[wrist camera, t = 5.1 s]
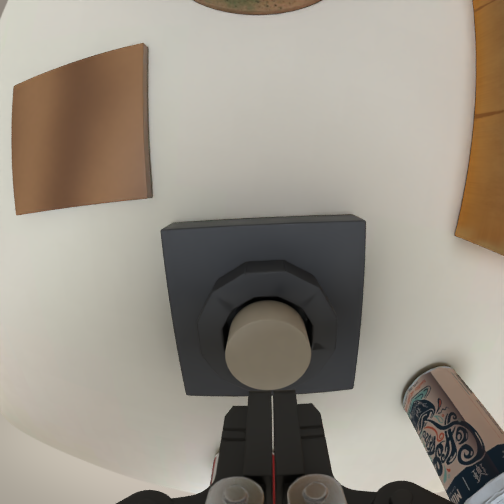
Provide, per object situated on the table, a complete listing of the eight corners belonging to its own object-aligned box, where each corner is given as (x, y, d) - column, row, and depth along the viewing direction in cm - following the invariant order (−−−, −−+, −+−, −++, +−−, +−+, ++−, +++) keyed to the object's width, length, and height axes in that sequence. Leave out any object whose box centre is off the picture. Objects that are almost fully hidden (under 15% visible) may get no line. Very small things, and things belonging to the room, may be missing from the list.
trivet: (23, 213, 18) (15, 215, 17) (20, 87, 15) (13, 85, 15) (152, 197, 17) (147, 198, 16) (148, 47, 15) (143, 42, 14)
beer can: (407, 368, 19) (485, 498, 8) (460, 357, 19) (548, 461, 7) (395, 417, 20) (448, 539, 9) (446, 405, 20) (510, 509, 9)
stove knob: (232, 366, 15) (229, 391, 13) (226, 301, 15) (221, 320, 13) (304, 363, 15) (309, 388, 13) (306, 297, 14) (312, 316, 12)
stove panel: (192, 375, 20) (179, 415, 16) (171, 222, 17) (147, 237, 14) (345, 369, 19) (360, 408, 15) (354, 214, 17) (378, 226, 13)
